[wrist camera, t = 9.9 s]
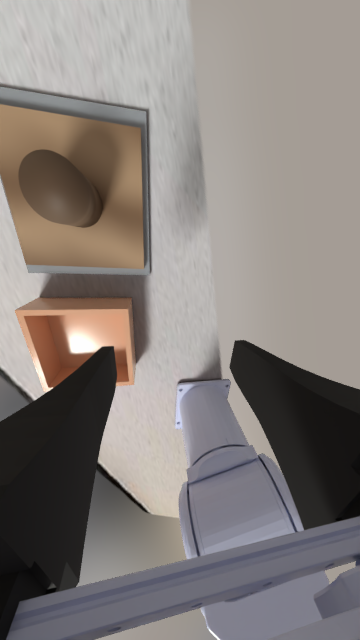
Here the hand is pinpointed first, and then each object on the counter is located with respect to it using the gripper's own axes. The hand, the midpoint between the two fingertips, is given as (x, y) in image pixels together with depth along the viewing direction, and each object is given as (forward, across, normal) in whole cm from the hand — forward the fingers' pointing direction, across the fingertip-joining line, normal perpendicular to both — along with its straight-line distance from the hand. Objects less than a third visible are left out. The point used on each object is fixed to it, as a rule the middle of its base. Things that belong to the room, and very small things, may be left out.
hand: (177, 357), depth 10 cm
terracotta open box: (+10, +8, +4) cm, 14 cm away
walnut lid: (+10, +7, -9) cm, 15 cm away
